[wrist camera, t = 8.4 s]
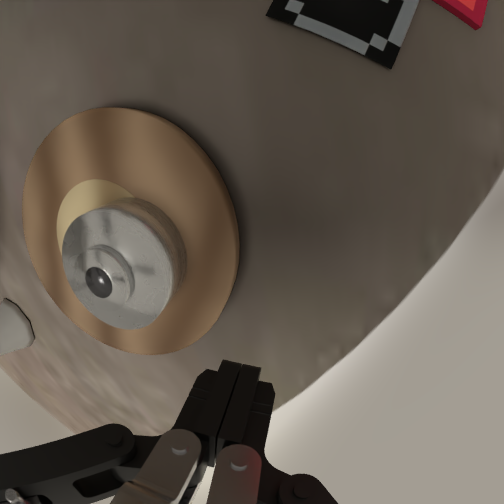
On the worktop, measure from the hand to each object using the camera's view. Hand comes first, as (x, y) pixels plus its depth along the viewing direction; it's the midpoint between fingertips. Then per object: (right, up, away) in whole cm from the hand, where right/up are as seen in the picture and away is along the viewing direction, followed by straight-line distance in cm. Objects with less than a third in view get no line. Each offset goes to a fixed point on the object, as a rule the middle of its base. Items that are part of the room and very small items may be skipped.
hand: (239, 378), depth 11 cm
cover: (-8, +5, +9) cm, 13 cm away
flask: (-31, -4, +21) cm, 38 cm away
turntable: (-10, +6, +12) cm, 17 cm away
